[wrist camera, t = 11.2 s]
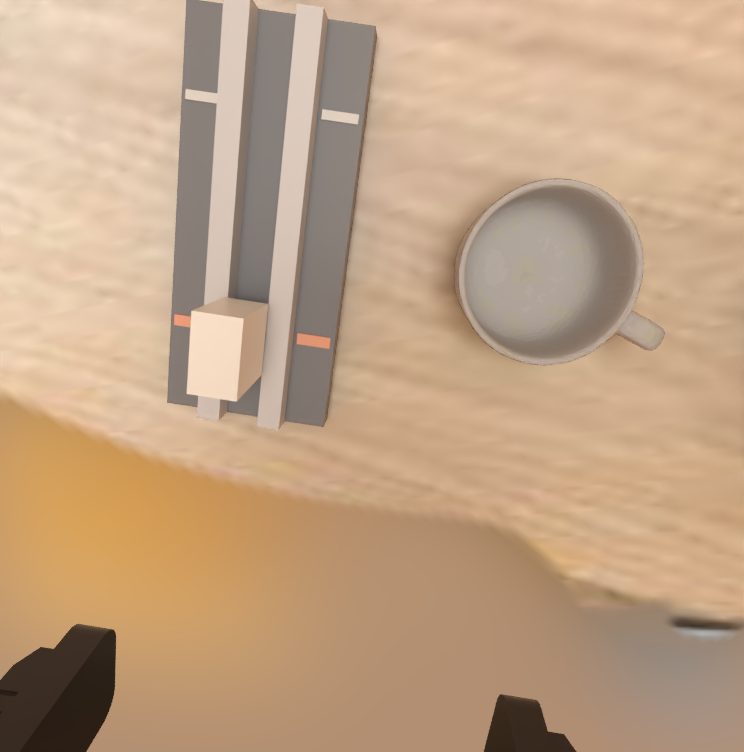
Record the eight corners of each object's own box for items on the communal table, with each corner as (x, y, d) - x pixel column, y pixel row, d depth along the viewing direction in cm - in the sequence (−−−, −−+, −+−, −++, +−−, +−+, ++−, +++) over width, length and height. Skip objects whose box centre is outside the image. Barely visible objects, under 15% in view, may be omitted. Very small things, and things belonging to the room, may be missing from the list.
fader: (275, 299, 39) (243, 318, 32) (268, 366, 41) (236, 401, 33) (233, 293, 39) (191, 310, 32) (228, 360, 41) (186, 393, 33)
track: (376, 36, 37) (373, 14, 33) (326, 418, 44) (319, 436, 40) (197, 10, 37) (173, -15, 33) (177, 394, 44) (156, 411, 40)
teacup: (417, 274, 41) (421, 286, 33) (522, 152, 38) (552, 135, 30) (554, 394, 43) (588, 432, 35) (663, 286, 40) (725, 301, 32)
